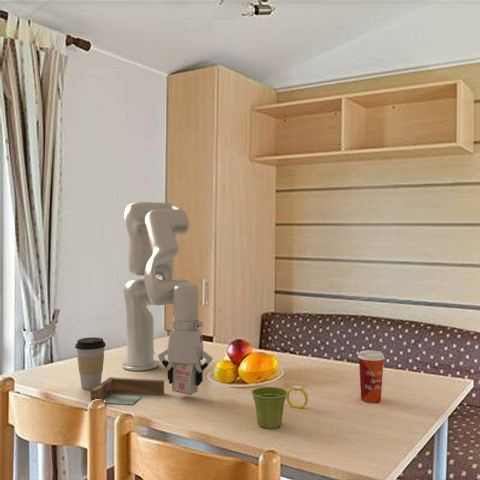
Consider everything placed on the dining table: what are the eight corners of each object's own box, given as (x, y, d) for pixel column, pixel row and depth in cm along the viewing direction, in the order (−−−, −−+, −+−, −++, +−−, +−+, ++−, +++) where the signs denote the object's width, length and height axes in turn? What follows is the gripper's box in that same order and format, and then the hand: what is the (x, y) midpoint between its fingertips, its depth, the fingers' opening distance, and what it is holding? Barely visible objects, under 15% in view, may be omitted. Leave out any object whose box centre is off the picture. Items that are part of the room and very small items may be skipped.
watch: (308, 408, 160) (309, 387, 159) (305, 411, 157) (306, 390, 157) (288, 403, 162) (289, 383, 162) (284, 406, 160) (286, 386, 159)
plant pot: (249, 419, 150) (249, 386, 150) (284, 417, 151) (284, 385, 151) (253, 432, 141) (253, 398, 140) (290, 431, 142) (290, 396, 141)
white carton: (179, 387, 171) (179, 355, 171) (197, 391, 168) (198, 358, 167) (172, 390, 168) (172, 358, 168) (190, 395, 165) (190, 361, 164)
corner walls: (109, 390, 175) (109, 377, 175) (164, 393, 172) (164, 380, 172) (90, 404, 162) (90, 390, 162) (149, 407, 159) (149, 393, 159)
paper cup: (369, 405, 161) (369, 357, 160) (352, 398, 167) (352, 351, 167) (390, 401, 164) (390, 354, 164) (372, 394, 171) (373, 348, 170)
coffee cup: (98, 392, 173) (97, 343, 173) (69, 390, 175) (69, 342, 175) (111, 383, 183) (110, 337, 182) (84, 381, 185) (83, 336, 184)
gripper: (216, 323, 169) (216, 381, 170) (161, 320, 172) (160, 377, 173) (211, 329, 162) (210, 389, 163) (153, 326, 165) (152, 385, 166)
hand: (185, 382), depth 168 cm, fingers closed on white carton, 7 cm apart
